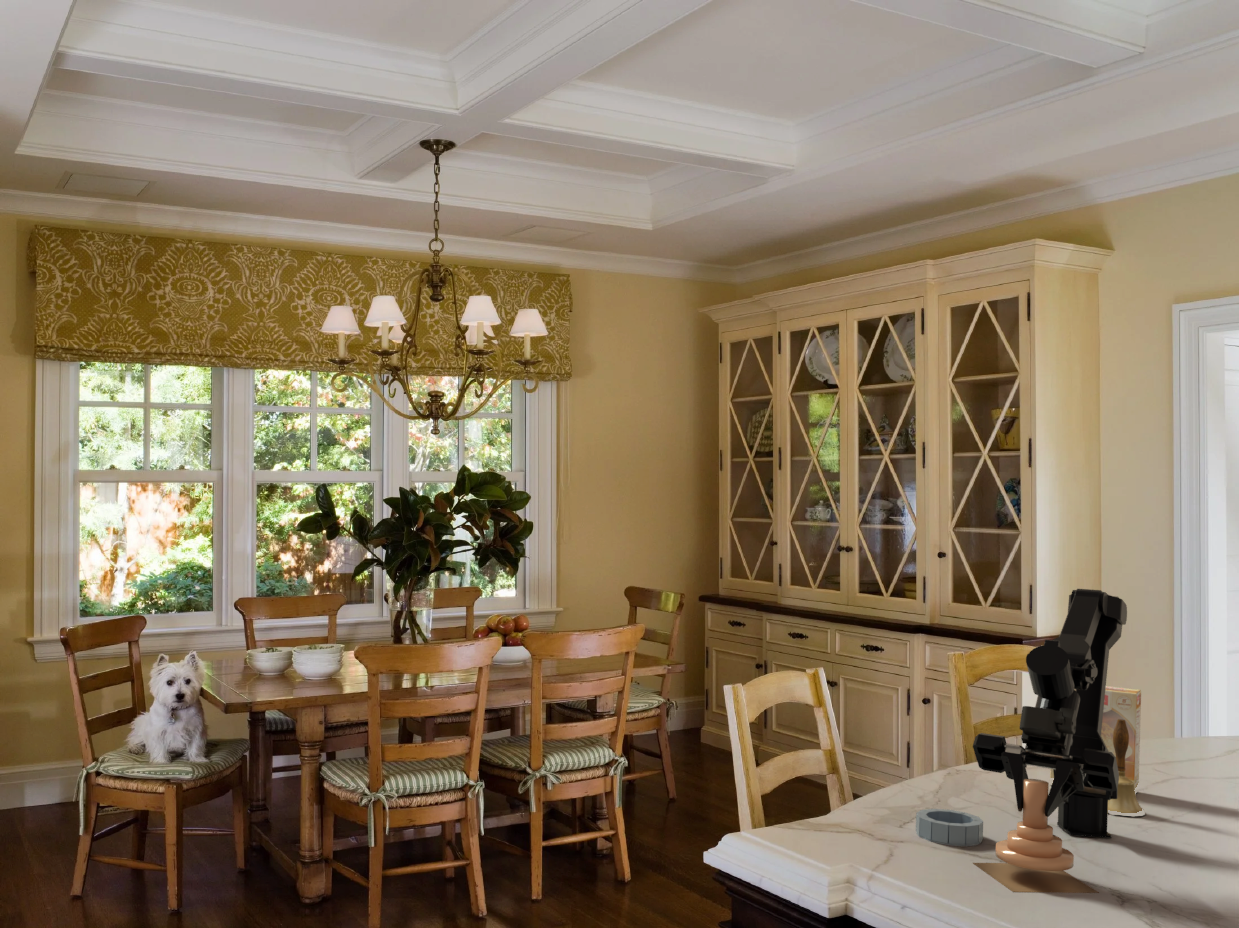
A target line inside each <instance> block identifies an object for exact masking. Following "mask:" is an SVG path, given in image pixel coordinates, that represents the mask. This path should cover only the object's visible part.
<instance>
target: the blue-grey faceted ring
mask: <svg viewBox="0 0 1239 928" xmlns="http://www.w3.org/2000/svg"><path fill="white" fill-rule="evenodd" d="M915 813H916V815H915V833H916V835H917V836H918V837H919V838H921V839H923V840H926V841H928V842H931V843H935V844H939V845H946V846H953V847H971V846H977V845H980V844H981V843H982V842H983V839H984V820H983V819H982V818H981V817H979V816H977V815H974V814H971V813H968V812H965V811H960V810H955V809H946V808H945V809H944V808H926V809H924V808H923V809H920V810H919V811H916V812H915Z"/></svg>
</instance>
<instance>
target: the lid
mask: <svg viewBox="0 0 1239 928" xmlns="http://www.w3.org/2000/svg"><path fill="white" fill-rule="evenodd" d="M1049 785H1050V782H1048V781H1046V780H1042V779H1039V778H1038V779H1037V778H1028V779H1024V789H1023V809H1022V821H1017V823H1016V829H1013V830H1009V831H1008V832H1007V837H1006V838H1007V839H1003V840H1000V841H997V842H996V843H995V853H994V854H995V856H996V857H997V858H998V859H999V860H1000V861H1003V863H1009V864H1012V865H1015V866H1019V867H1023V868H1028V869H1034V870H1042V871H1067V870H1071V869H1072V868H1073V867H1075V866H1074V864H1075V863H1074V862H1075V861H1074V860H1075V855H1074V853H1072V852H1071V851H1070V850H1068V849H1066V848H1065V847H1063V840H1062V838H1061V837H1060V836H1058V835H1054V828H1053V826H1051V825H1049V824H1048V819H1049V817H1047V816H1045V806H1046V801H1047V798H1048V795H1049V787H1050V786H1049Z"/></svg>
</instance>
